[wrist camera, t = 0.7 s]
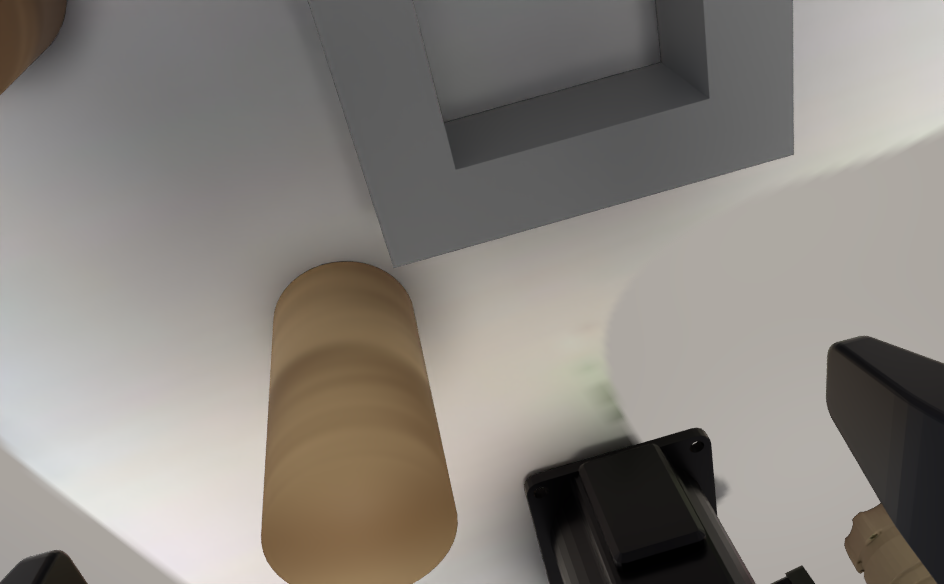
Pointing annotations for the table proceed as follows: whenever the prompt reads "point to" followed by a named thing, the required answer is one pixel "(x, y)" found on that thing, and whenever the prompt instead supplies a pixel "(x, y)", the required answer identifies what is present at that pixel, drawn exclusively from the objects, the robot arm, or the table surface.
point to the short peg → (26, 34)
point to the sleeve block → (556, 123)
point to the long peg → (352, 436)
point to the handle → (883, 551)
